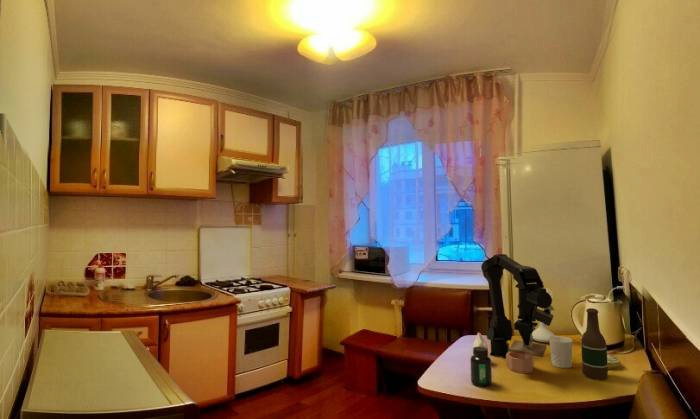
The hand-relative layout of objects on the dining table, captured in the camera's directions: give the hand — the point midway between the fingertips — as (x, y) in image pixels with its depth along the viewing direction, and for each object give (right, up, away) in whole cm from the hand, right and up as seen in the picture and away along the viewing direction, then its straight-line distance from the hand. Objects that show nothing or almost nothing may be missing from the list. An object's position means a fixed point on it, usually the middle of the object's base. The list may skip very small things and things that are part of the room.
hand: (527, 344), depth 139 cm
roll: (-14, -12, +11) cm, 21 cm away
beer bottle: (+22, -11, -4) cm, 25 cm away
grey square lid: (0, -2, 0) cm, 2 cm away
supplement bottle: (-20, -11, -8) cm, 24 cm away
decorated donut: (+33, -11, +7) cm, 35 cm away
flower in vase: (+25, -12, +36) cm, 45 cm away
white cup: (+17, -11, +7) cm, 21 cm away
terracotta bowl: (-1, -11, +5) cm, 12 cm away
